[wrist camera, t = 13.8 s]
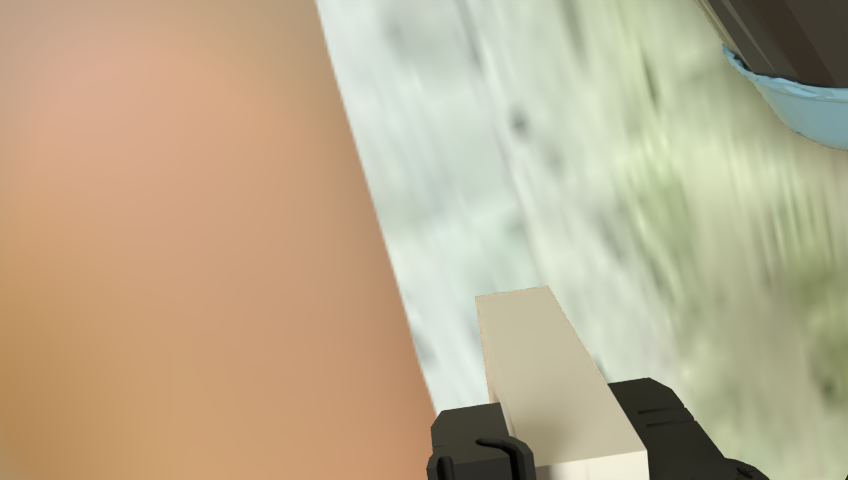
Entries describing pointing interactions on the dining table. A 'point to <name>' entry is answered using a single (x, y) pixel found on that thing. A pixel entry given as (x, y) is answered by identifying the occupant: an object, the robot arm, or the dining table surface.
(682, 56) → the dining table surface
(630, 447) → the robot arm
